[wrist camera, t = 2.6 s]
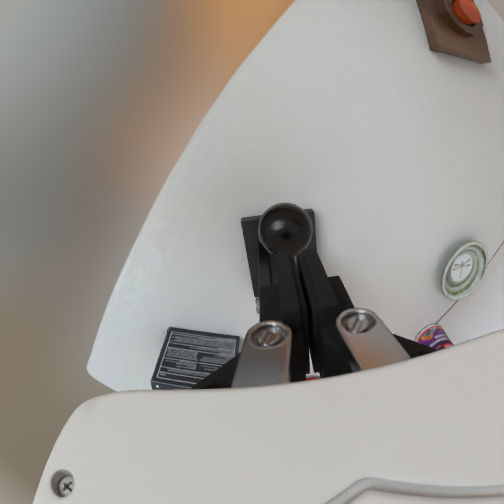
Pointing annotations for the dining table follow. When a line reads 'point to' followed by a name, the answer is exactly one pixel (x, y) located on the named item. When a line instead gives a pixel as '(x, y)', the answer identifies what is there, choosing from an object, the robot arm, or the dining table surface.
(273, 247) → the lever
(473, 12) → the button
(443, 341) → the pill bottle
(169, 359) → the small box
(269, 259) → the bracket
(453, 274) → the saucer
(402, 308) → the dining table surface
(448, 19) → the button block
